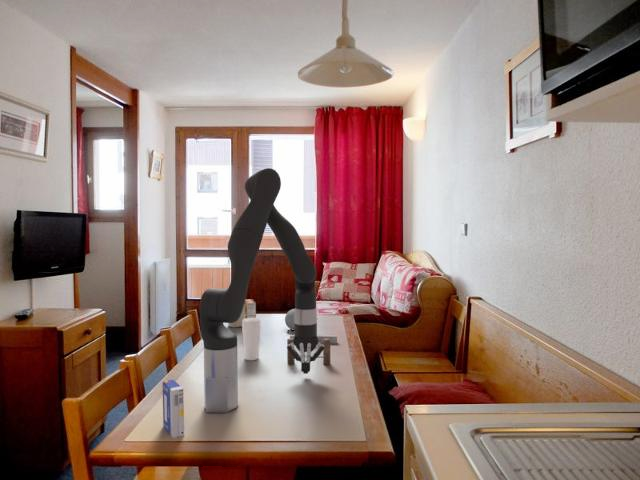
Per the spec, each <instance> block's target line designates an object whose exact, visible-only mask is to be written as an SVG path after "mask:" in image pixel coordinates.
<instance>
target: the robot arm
mask: <svg viewBox="0 0 640 480" xmlns="http://www.w3.org/2000/svg"><path fill="white" fill-rule="evenodd" d="M281 186H282V181H281V177H280V174H279V173H278V172H277V170H275V169H273V168H271V167H266V168H262V169H260V170H258V171H257V172H255V173H254V174H252V175H250V176H249V177H248V178H247V179H246V181H245V183H244V190H245V193H246V195H247V197H248V198H249V199H250V201H249V202H248V205H247V206H246V207H245V208H244V210H243V212H242V213H241V215H240V216H239V218H238V219H237V221H236V223H235V224H234V226H233V229H232V231H231V234H230V237H229V240H228V243H227V254H228V258H229V262H230V264H231V268H232V274H231V275H232V276H231V279H230V280H231V281H230V284H229V285H228V288H217V287H216V288H214V287H213V288H212V287H211V288H207V289H206V290H204V291H203V293H202V295H201V296H200V301H199V322H200V335H201V339H202V341H203V378H204V379H203V380H204V381H203V385H204V387H203V388H204V390H203V391H204V392H203V393H204V409H205V412H206V413H217V414H218V413H220V414H222V413H223V414H228V413H229V412H230V411H233V410H234V409H236V408H237V407H238V406H239V385H238V383H239V379H238V378H239V377H238V376H239V375H238V374H239V371H238V369H239V368H238V364H239V363H238V362H239V361H238V360H239V359H238V336H237V334H236V333H235V332H233V331H231V330H230V329H228V327H226V325H224V323H225V324H226V323H227V324H228V323H234V322H236V321H237V320H238V319H239V317H240V315H241V313H242V310H243V307H244V303H245V300H246V298H247V293H248V288H249V284H250V279H251V275H252V271H253V269H254V265H255V262H256V258H257V256H258V253H259V251H260V247H261V244H262V241H263V236H264V233H265V230H266V227H267V225H268V227H269V228H270V230H271V231H272V233H273V235H274V236H275V239H276V240H277V242H278V244H279V246H280V249H281V250H282V252H283V254H284V256H285V257H286V259H287V261H288V262H289V266H290V267H291V270H292V272H293V274H294V280H295V281H294V284H295V295H294V309H295V314H294V330H293V331H294V333H293V335H294V339H293V342H292V343H291V344H288V346H287V345H286V350H287V349H288V350H289V352H290V353H291V354H292V355H293V357H294V358H295V361H297V362H300V363H301V366H300V368H301V372H302V373H303V374H307V375H308V374H309V372H310V371H311V362H315V361H316V360H317V358H319V357H318V356H319V355H320V353H321V352H322V351H323V350H324V345H323V343H319V340H318V338H317V335H318V312H317V294H316V278H317V274H318V273H317V268H316V266H315V264H314V263H313V261H312V260H311V257H310V256H309V254H308V252H307V251H306V248H305V245H304V243H303V239H301V237H300V235H299V233H298V231H297V229H296V228H295V226H294V225H293V224H292V223H291V222H290V221H289V220H288V219H287V218H286V217H284V215H282V214H281V213H280V212H279V210H277V208H276V206H275V205H274V204H275V201H276V200H277V197H278V196H279V193H280V190H281ZM316 346H317V351H316V352H315V353H314V355H313V356H311V352H312V351H313V350H314V348H315V347H316ZM295 347H296V348H297V349H298V350H299V351H300V354H301V356H299V354H298V353H297V352H296V350H295V349H294V348H295ZM305 352H307V357H305Z"/></svg>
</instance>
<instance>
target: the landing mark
mask: <svg viewBox="0 0 640 480" xmlns="http://www.w3.org/2000/svg"><path fill="white" fill-rule="evenodd" d="M295 350H296V352H297V353H298V354H299V356H301V354H300V351H299V350H298V349H297V348H296V346H295ZM316 351H317V346H316V347H315V348H314V350H313V351H312V352H311V356H313V355H314V353H315V352H316ZM305 358H307V352H305ZM317 358H323V351H322V352H321V353H320V355H319V356H318V357H317Z"/></svg>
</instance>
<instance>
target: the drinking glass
mask: <svg viewBox="0 0 640 480" xmlns="http://www.w3.org/2000/svg"><path fill="white" fill-rule="evenodd" d="M261 327H262V326H261V318H258V317H256V318H245V319H243V321H242V327H241V328H242V340H243V349H244V359H245V360H246V361H250V362H251V361H257V360H258V359H259V358H260V341H261Z"/></svg>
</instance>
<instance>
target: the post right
mask: <svg viewBox="0 0 640 480" xmlns="http://www.w3.org/2000/svg"><path fill="white" fill-rule="evenodd" d="M322 344H323V345H324V350H323V357H322V362H323V364H322V365H324V366H330V365H331V343H330V339H323V343H322Z"/></svg>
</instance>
